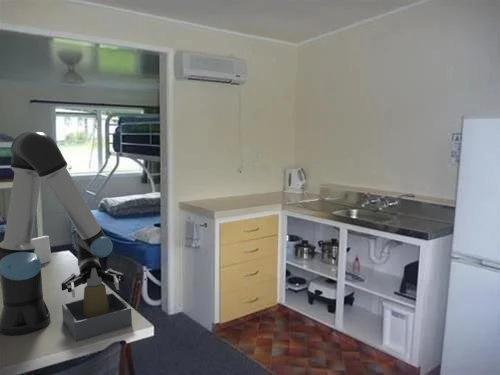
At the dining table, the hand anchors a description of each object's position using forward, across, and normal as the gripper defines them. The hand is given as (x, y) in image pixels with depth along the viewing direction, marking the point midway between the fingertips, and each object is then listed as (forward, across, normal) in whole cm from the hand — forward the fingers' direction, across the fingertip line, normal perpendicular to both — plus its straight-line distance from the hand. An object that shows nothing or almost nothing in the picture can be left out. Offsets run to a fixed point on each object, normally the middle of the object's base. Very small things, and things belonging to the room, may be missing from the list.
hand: (95, 289), depth 135 cm
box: (-2, 0, -13) cm, 13 cm away
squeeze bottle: (-2, 0, -12) cm, 12 cm away
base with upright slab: (-88, +19, -13) cm, 91 cm away
